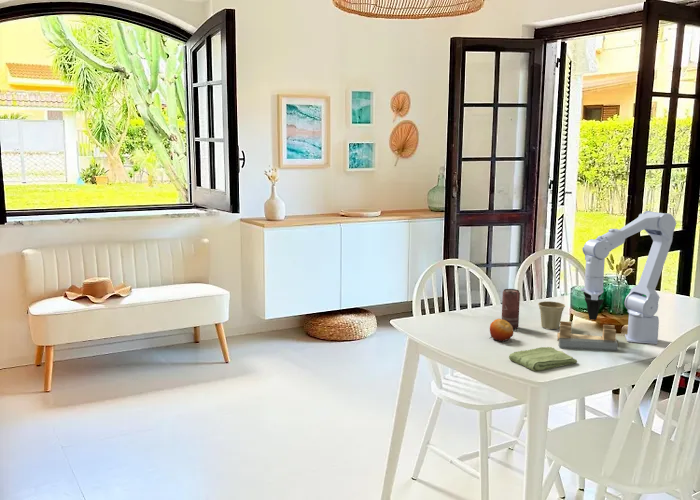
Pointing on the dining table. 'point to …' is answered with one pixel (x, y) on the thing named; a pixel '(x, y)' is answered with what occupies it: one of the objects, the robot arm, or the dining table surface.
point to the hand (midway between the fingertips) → (592, 316)
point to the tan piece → (566, 333)
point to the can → (511, 307)
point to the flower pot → (550, 314)
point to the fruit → (501, 330)
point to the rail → (588, 344)
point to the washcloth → (542, 358)
